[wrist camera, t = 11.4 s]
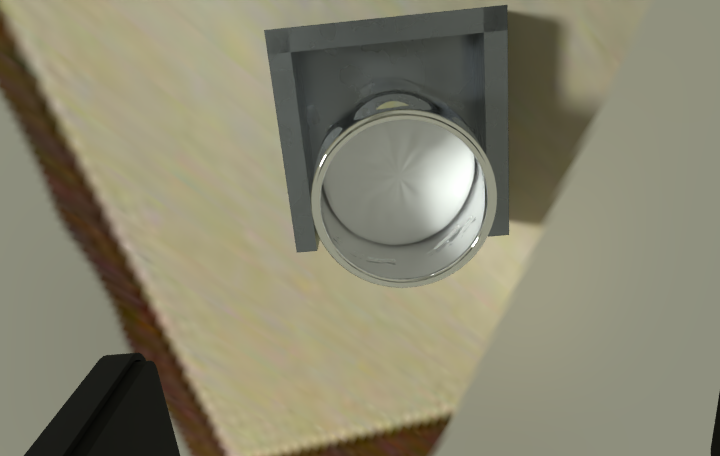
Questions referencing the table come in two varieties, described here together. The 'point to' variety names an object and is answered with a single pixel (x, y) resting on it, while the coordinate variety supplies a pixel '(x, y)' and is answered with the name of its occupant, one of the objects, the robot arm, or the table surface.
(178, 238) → the table surface
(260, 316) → the table surface
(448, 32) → the grey tray
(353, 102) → the beer glass
